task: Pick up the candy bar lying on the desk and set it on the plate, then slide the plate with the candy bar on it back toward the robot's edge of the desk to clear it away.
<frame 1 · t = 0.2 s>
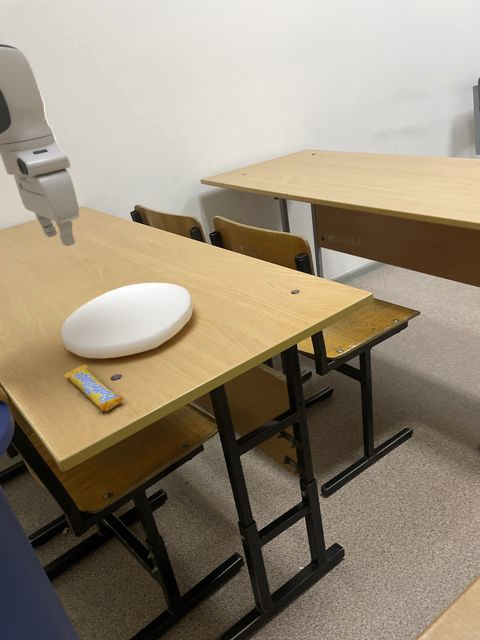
hand: (60, 240, 92), 23 cm above the table, tool pointing down, fingers open, 8 cm apart
plate: (132, 331, 110), on the table
candy bar: (95, 392, 90), on the table
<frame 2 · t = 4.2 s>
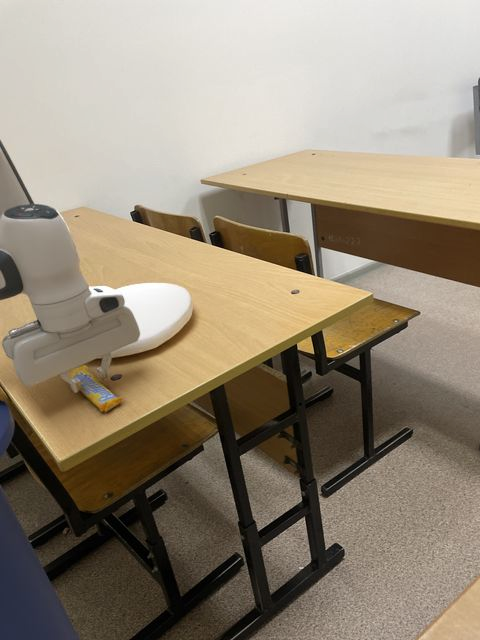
hand: (92, 383, 89), 2 cm above the table, tool pointing down, fingers closed on candy bar, 3 cm apart
candy bar: (94, 393, 90), on the table, touching gripper
everything else where it was.
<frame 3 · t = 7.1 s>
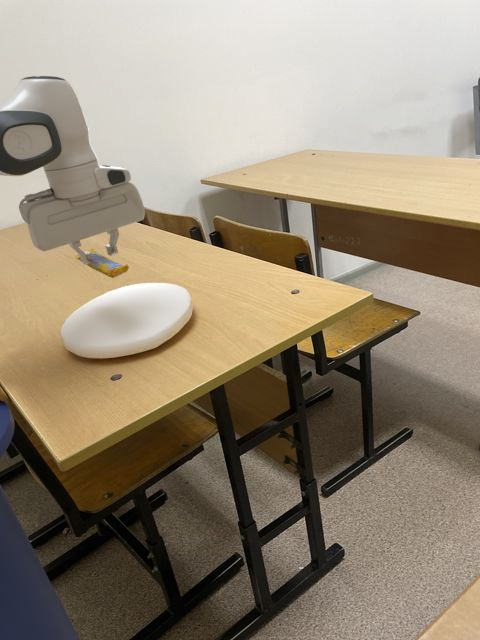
hand: (100, 258, 97), 18 cm above the table, tool pointing down, fingers closed on candy bar, 3 cm apart
candy bar: (103, 268, 97), point 16 cm above the table, touching gripper
everything else where it was.
when the fingers open (8 cm above the table, at t = 10.1 s): candy bar stays where it is, resting on plate.
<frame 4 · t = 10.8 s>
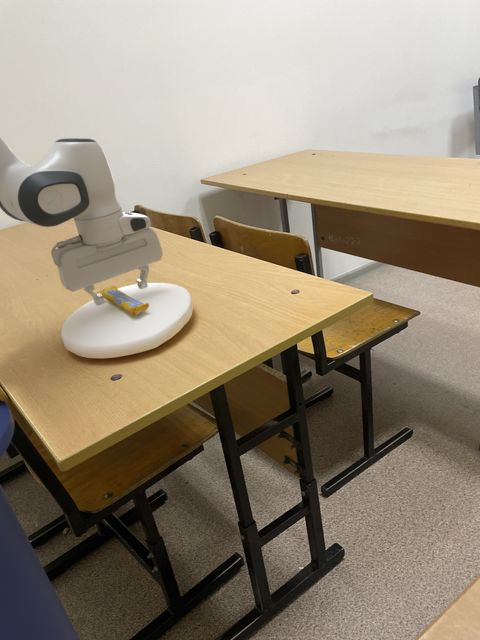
hand: (122, 295, 106), 8 cm above the table, tool pointing down, fingers open, 8 cm apart
plate: (132, 331, 110), on the table, touching candy bar
candy bar: (124, 305, 107), point 6 cm above the table, touching plate
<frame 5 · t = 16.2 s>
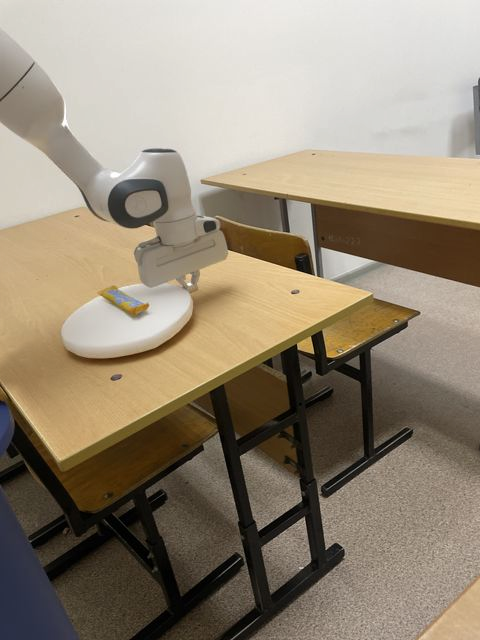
hand: (191, 291, 115), 3 cm above the table, tool pointing down, fingers closed
plate: (132, 331, 110), on the table, touching candy bar, gripper
everything else where it was.
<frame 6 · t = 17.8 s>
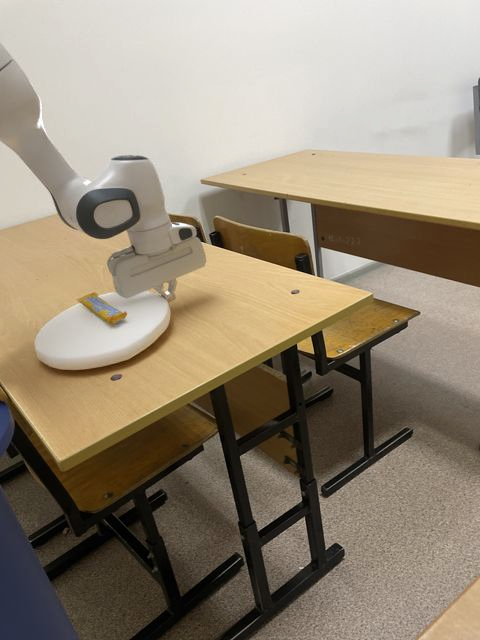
hand: (169, 300, 113), 3 cm above the table, tool pointing down, fingers closed
plate: (108, 340, 107), on the table, touching candy bar, gripper
candy bar: (103, 312, 105), point 6 cm above the table, touching plate
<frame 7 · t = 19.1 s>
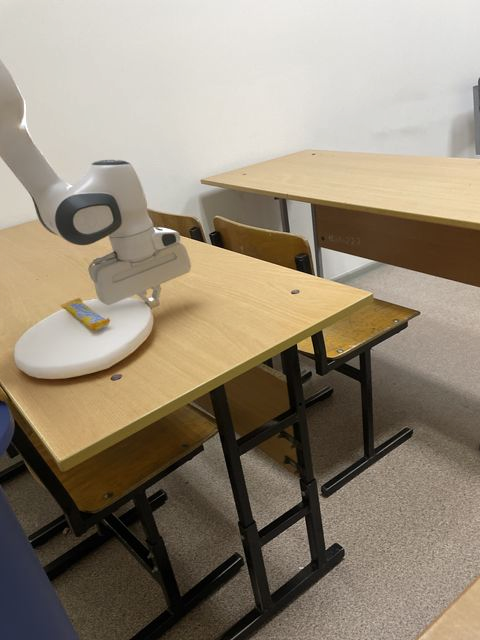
hand: (153, 307, 111), 3 cm above the table, tool pointing down, fingers closed
plate: (90, 348, 106), on the table, touching candy bar, gripper
candy bar: (87, 319, 103), point 6 cm above the table, touching plate
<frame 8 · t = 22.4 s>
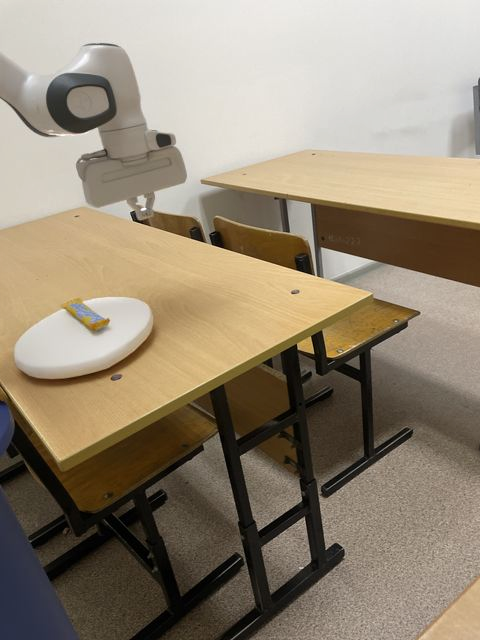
hand: (145, 218, 104), 21 cm above the table, tool pointing down, fingers closed
plate: (90, 348, 106), on the table, touching candy bar
everything else where it was.
at the end: plate inside the target area (2.6 cm from its centre), on the table; candy bar 1.2 cm from the plate (horizontally); candy bar point 5.8 cm above the table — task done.
